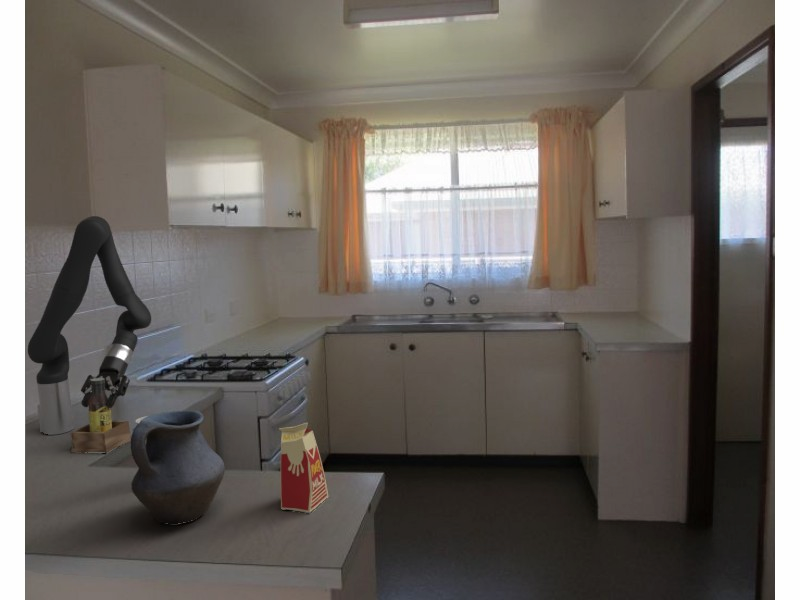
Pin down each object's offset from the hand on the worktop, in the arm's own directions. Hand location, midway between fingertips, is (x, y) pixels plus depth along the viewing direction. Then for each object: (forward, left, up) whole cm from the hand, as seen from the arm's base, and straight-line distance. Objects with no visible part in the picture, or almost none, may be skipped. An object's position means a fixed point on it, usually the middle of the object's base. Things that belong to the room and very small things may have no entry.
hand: (96, 406), depth 200 cm
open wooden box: (0, +1, -13) cm, 13 cm away
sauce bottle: (0, +1, -12) cm, 12 cm away
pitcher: (+52, -40, -13) cm, 67 cm away
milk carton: (+78, -30, -13) cm, 85 cm away
